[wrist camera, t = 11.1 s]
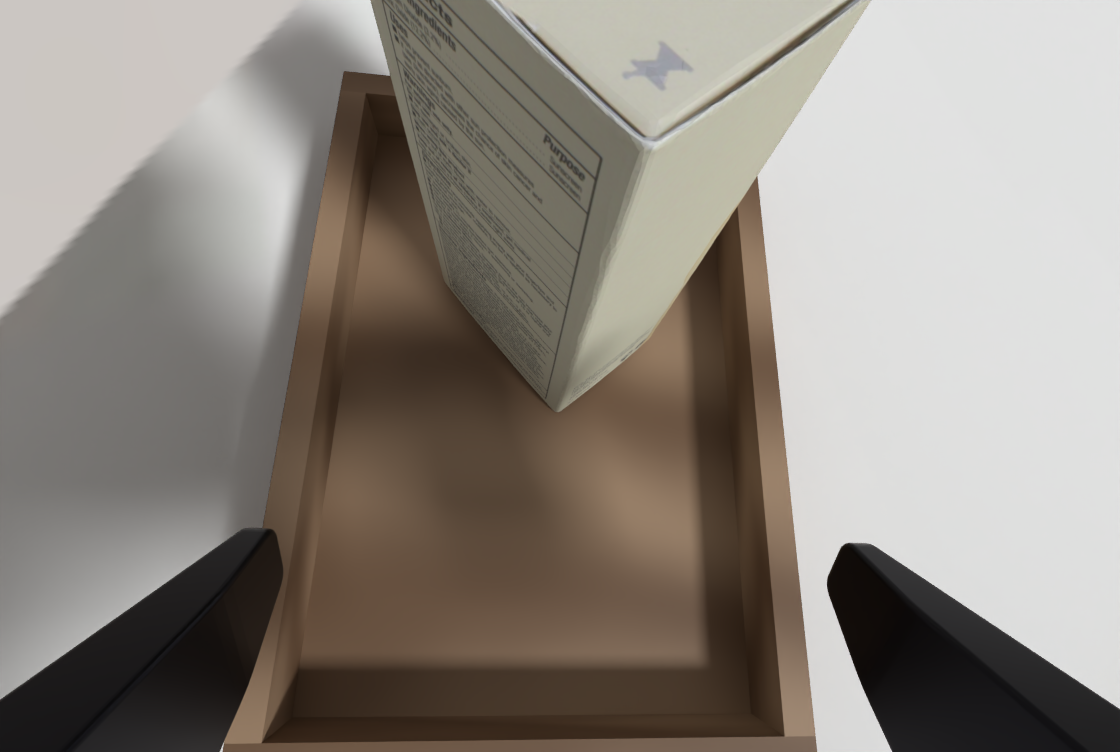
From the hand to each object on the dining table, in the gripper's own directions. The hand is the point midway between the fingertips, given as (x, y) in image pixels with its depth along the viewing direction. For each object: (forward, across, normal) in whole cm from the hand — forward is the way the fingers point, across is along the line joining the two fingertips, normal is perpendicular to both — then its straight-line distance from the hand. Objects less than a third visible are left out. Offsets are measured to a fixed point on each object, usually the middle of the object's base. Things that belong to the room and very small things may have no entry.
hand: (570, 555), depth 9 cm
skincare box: (+11, 0, 0) cm, 11 cm away
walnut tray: (+9, 0, +2) cm, 10 cm away
